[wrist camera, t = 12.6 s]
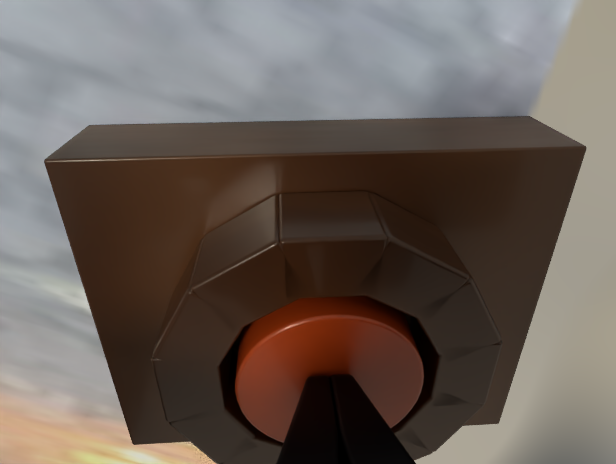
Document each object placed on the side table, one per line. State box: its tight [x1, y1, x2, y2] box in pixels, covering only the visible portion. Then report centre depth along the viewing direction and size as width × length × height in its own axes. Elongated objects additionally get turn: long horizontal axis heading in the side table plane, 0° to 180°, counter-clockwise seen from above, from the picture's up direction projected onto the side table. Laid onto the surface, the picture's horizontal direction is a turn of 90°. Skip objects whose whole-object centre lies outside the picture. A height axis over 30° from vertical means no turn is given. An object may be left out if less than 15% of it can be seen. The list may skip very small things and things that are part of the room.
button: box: [235, 296, 424, 443], centre depth 9 cm, size 4×4×2 cm
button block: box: [44, 116, 586, 464], centre depth 10 cm, size 10×8×4 cm
